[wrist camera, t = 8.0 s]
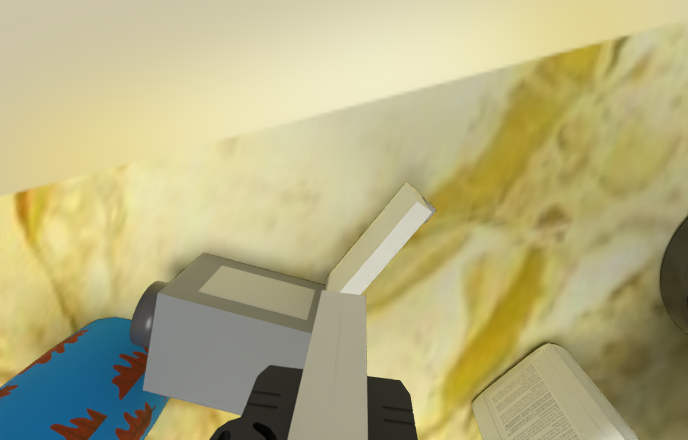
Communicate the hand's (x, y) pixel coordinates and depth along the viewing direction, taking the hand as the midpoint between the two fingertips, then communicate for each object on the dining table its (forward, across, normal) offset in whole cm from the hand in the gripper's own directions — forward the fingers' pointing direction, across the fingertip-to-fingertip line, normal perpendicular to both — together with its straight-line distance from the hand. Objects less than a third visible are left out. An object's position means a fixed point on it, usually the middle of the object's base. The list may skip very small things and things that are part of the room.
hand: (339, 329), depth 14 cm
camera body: (+20, +7, +11) cm, 24 cm away
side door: (+20, -2, +3) cm, 20 cm away
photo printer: (+20, -17, +15) cm, 30 cm away
